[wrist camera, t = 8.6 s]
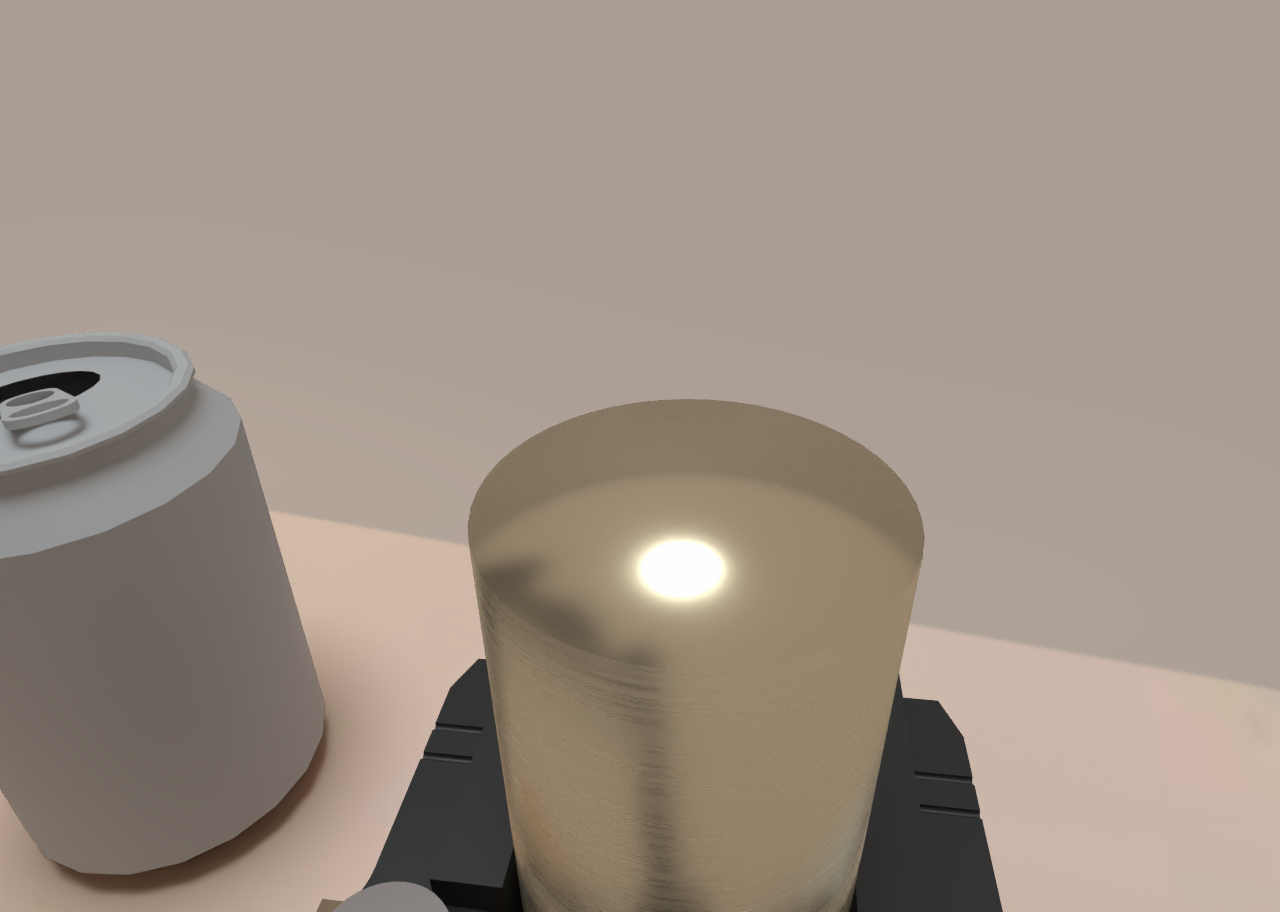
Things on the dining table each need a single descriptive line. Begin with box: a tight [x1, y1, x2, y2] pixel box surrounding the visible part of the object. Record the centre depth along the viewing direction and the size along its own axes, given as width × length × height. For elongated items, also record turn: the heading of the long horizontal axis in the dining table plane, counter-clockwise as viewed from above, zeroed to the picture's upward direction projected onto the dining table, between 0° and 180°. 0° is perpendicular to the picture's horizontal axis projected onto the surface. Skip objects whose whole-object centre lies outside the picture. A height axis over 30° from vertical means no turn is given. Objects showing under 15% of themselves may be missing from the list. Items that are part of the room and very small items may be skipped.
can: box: [0, 332, 325, 875], centre depth 21 cm, size 8×8×12 cm
